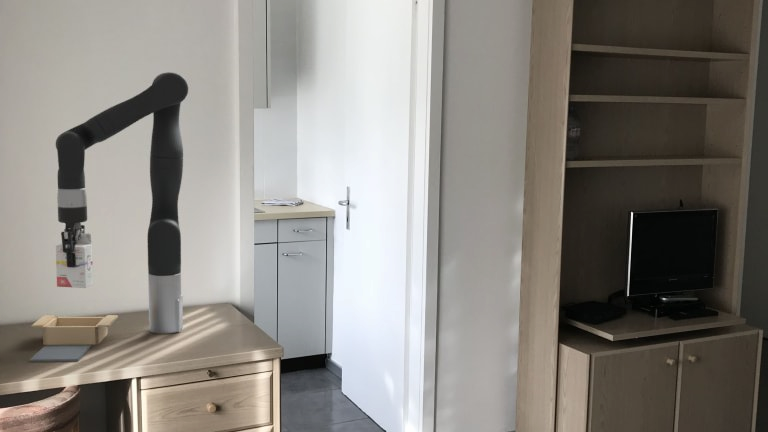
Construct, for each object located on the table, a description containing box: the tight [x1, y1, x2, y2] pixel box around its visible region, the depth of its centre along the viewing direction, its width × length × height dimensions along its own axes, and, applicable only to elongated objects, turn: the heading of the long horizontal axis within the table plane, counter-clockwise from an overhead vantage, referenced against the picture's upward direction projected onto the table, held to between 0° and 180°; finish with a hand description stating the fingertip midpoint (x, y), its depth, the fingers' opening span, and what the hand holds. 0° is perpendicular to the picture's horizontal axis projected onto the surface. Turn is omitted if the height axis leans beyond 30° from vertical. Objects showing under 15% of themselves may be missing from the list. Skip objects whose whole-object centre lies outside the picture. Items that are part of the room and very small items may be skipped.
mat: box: [29, 345, 92, 363], centre depth 208 cm, size 12×12×1 cm
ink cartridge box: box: [55, 232, 94, 289], centre depth 219 cm, size 9×5×15 cm, turn 84°
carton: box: [31, 314, 119, 346], centre depth 222 cm, size 21×11×6 cm, turn 96°
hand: (74, 264), depth 219 cm, fingers closed on ink cartridge box, 5 cm apart
